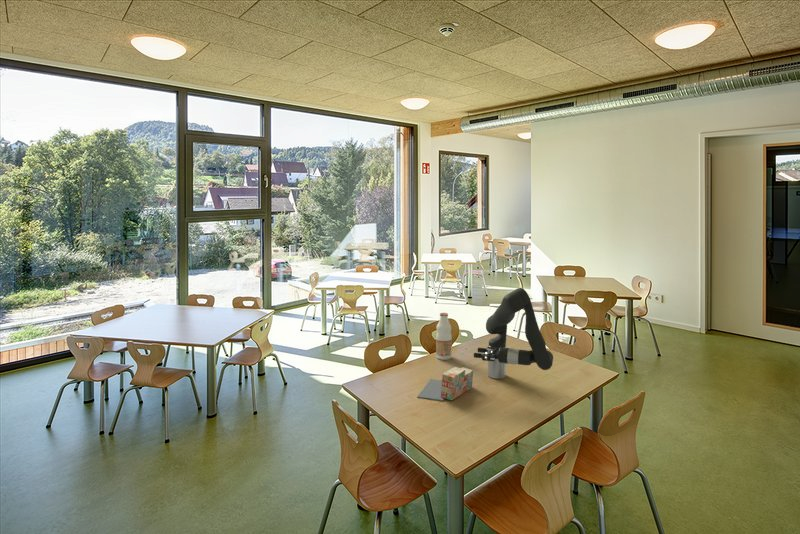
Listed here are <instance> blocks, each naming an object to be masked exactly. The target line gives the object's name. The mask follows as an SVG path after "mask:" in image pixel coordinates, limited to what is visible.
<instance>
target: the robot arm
mask: <svg viewBox="0 0 800 534" xmlns="http://www.w3.org/2000/svg"><path fill="white" fill-rule="evenodd" d="M532 304H533V303H532V301H531V298H530V296H529V294H528V292H527V291H526V290H525V289H524V288H522V287H518V288H516V289H514V290H512V291H510V292H509V293H507V294H505V295H504V297H503V298H502V301H501V303H500V304H499V306H498V307H497V308H496V309H495V311H494V313H493V314H491V315H490V316H489V317H488V318H487V320H486V323H485V330H486V331H487V333H488V334H490V335H497V336H494V337H493V338H491V339H489V340H488V346H487V347H477V352H474V353H473V358H477V359H481V360H482V361H484V362H485V361H486V362H488V364H487V376H488V377H489V378H491V379H494V380H495V379H500V380H501V379H505V378H506V369H507V368H506V367H507V365H519V366H531V364H536V365H537V367H538V368H539V369H541V370H543V371H548V370H550V369H551V368H552V366H553V363H554V355H553V353H552V352H551V351H549V350H547V345H546V341H545V339H544V336H543V333H542V332H541V329H540V328H539V324H538V320H537V317H536V315H535V311H534V307H533V305H532ZM521 310H524V314H525V326H524V333H525V338H526V340H527V342H528V345H529V346H530V348H531V350H527V349H526V350H525V349H517V348H512V347H507V333H508V332H507V331H508V324H510V323H511V322H512V321H513V320H514V318H515V316H516V313H518V312H520V311H521ZM506 364H507V365H506Z"/></svg>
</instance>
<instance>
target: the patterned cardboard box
mask: <svg viewBox="0 0 800 534" xmlns="http://www.w3.org/2000/svg"><path fill="white" fill-rule="evenodd" d="M473 373H474V370H473V369H470V368H467V367H464V366H463V367H461V368H460V367H456V366H454V367H452V368H451V369H448V370H447V371H445V372H443V373H442V377H441V380H442V390H441V397H442V398H445V399H444V400H449V401H453V400H455V399H457V398H458V397H460V396H461V395H463V393H465V392H466V391H468V390H469V389H470V390H471V388H473V380H474V377H473Z"/></svg>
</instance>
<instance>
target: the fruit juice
mask: <svg viewBox="0 0 800 534" xmlns="http://www.w3.org/2000/svg"><path fill="white" fill-rule="evenodd" d="M448 317H449V313H448V312H440V313H439V321H438V323H437V324H436V337H435V345H436V346H435V357H436V358H437V359H438V360H443V361H446V360H451V359H452V333H451V331H452V324H451V323H450V321H449V318H448Z"/></svg>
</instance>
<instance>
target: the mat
mask: <svg viewBox="0 0 800 534" xmlns="http://www.w3.org/2000/svg"><path fill="white" fill-rule="evenodd" d="M441 390H442V379H434V378H430V379H429V380H428V382H427V383H426V384H425V385H424V387H423V388H422V390H421V391H420V393H419V394H418V395H417V398H418V399H423V398H424V399H423V400H432V401H439V402H444V400H446V399H445V398H442V397H441Z"/></svg>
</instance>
